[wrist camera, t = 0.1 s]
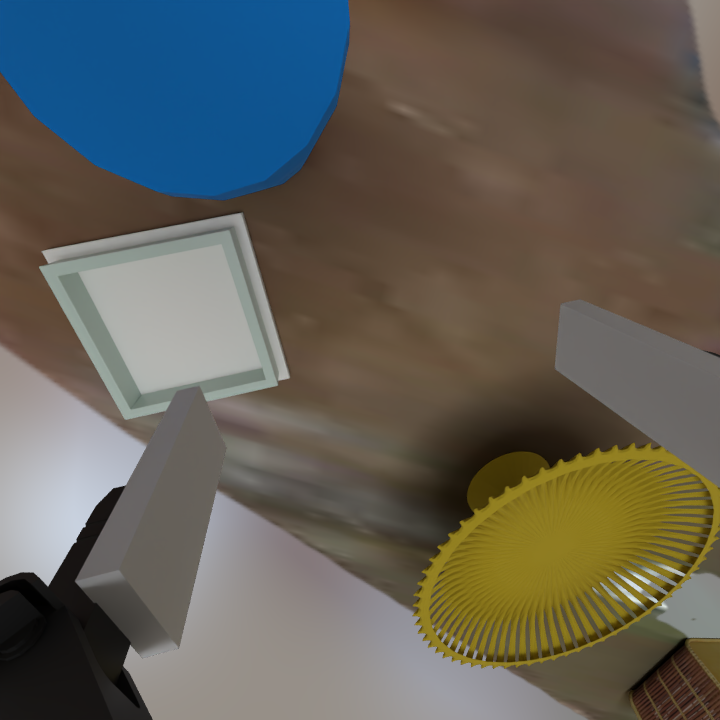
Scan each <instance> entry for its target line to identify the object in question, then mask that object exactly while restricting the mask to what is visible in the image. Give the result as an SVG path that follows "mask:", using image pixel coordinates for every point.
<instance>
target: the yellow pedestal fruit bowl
mask: <svg viewBox="0 0 720 720" xmlns="http://www.w3.org/2000/svg"><path fill="white" fill-rule="evenodd" d="M630 459H633V460H631V461H628V462H626V463H624V462H625V461H627V460H630ZM641 460H648V461H645V462H642V463H640V464H637V465H634V466H632V465H633V464H635V463H637V462H639V461H641ZM614 461H616V462H614ZM656 461H664V462H661V463H658V464H654V465H651V466H648V467H645V468H642V467H644V466H646V465H648V464H650V463H653V462H656ZM612 462H614V463H612ZM610 463H611V464H610ZM622 463H623V464H622ZM668 464H674V465H676V466H672V467H669V468H665V469H661V470H657V471H653V472H649V471H651V470H654V469H656V468H658V467H661V466H665V465H668ZM630 466H631V467H630ZM640 468H641V469H640ZM681 468H685V469H687V470H684V471H680V472H676V473H671V474H666V475H662V476H657V475H660V474H662V473H665V472H668V471H672V470H676V469H681ZM647 472H649V473H647ZM687 474H695V475H696V476H695V477H689V478H684V479H678V480H672V481H666V482H660V481H663V480H666V479H669V478H672V477H676V476H682V475H687ZM654 476H657V477H654ZM699 480H702V482H703V483H700V484H692V485H685V486H677V487H669V488H663V487H666V486H670V485H674V484H678V483H684V482H692V481H699ZM656 482H660V483H656ZM659 488H660V489H659ZM700 488H707V489H708V490H709V491H705V492H695V493H683V494H669V495H661V494H666V493H671V492H676V491H681V490H689V489H700ZM685 497H711V498H712V500H692V501H665V500H671V499H678V498H685ZM467 501H468V504H469V506H470V508H471V509H472V511H473V512H474V515H473V516H471V517H470V518H467V519H464V520H462V521H460V524H461V527H460V529H457V530H455V531H453V532H451V533H449V534H448V536H449V537H450V539H449V540H448V541H446V542H444V543H442V544H441V545H439V546H438V547H437V548H439V549H440V550H441V552H439V553H438V554H436V555H434V556H433V557H432V558H430V559H429V560H430V561H431V562H433V563H432V564H431V565H429V566H428V567H427V568H426V569H424V570H423V571H422V573H425V574H427V576H425V577H424V578H423V579H422V580H421V581H419V582H418V585H421V586H422V587H421V588H420V589H419V590H418V591H417V592H416V593H415V594H414V595H413V596H418V597H420V598H419V599H418V600H417V601H416V602H415V603H414V605H413V606H416V607H419V608H418V609H417V611H416V612H415V613H414V614H413V616H418V617H420V618H419V620H418V621H417V622H416V624H415V625H422V627H421V629H420V630H419V631H418V634H419V633H425V634H426V635H425V637H424V638H423V641H426V640H430V641H431V642H430V644H429V645H428V648H429V647H437V649H436V651H435V653H437V652H444V654H443V658H445V657H449V656H452V657H453V658H452V662H453V661H455V660H461V665H462V664H465V663H468V662H469V663H471V667H473V666H475V665H478V664H480V665H481V668H484V667H486V666H489V665H493V669H494V668H496V667H498V666H504V669H505V668H507V667H509V666H511V665H516V667H518V666H520V665H522V664H528V666H530V665H531V664H532V663H534V662H540V663H542V662H544V661H545V660H548V659H552V660H553V661H554V660H555V659H556V658H557V657H559V656H562V655H565V656H566V657H567V655H568V654H570V653H572V652H576V651H577V652H580V650H581V649H583V648H585V647H588V646H590V647H592V645H593V644H595V643H597V642H600V641H603V642H604V640H605V639H606V638H607V637H609V636H612V635H616V634H617V632H619V631H621V630H623V629H628V627H629V625H631V624H632V623H634V622H637V621H640V618H642V617H643V616H645V615H647V614H651V611H652V610H653V609H654V608H656V607H657V606H662V604H661V603H662V602H663V601H664V600H666V599H667V598H669V597H672V595H671V594H672V593H673V592H674V591H676V590H677V589H679V588H682V587H681V584H682V583H684V582H685V581H686V580H689V579H691V577H690V574H691V573H692V572H694V571H695V570H698V569H699V568H698V567H697V566H698V565H699V564H700V563H701V562H702V561H703V560H706V559H707V558H706V557H704V555H705V554H706V553H707V552H708V551H710V550H712V549H713V548H712V547H710V545H711V544H712V543H713V542H714V541H715V540H717V539H719V538H718V537H716V536H715V534H716V533H717V532H718V531H719V530H720V526H718V525H719V523H720V488H718V486H717V485H715V484H714V483H712V482H711V481H710V480H708V479H707V478H705V477H704V476H703V475H701V474H700V473H698V472H697V471H696V470H694V469H693V468H692V467H690V466H689V465H687V464H686V463H685V462H683V461H682V460H680V459H679V458H678V457H676V456H675V455H674V454H672V453H671V452H669V451H668V450H667V451H666V450H665V448H664V447H662V446H658V447H655V448H653V449H651V443H649V444H646V445H643V446H641V447H639V448H635V443H632V444H630V445H628V446H626V447H624V448H622V449H620V450H618V447H617V445H615V446H613V447H611V448H609V449H608V450H606V451H604V452H600V449H599V448H597V449H595V450H594V451H592V452H591V453H589V454H588V455H586V456H584V457H582V455H581V453H579V454H577V455H576V456H575V457H573V458H572V459H570V460H569V461H567V462H564V461H563V460H562V459H560V460H559V461H558V462H557V463H556V464H554V465H553V466H552V467H551V468H550V466H549V465H548V463H547V461H546V460H545V459H544V458H542V457H541V456H539V455H538V454H536V453H532V452H524V451H520V452H512V453H508V454H505V455H502V456H500V457H498V458H495V459H494V460H492V461H490V462H489V463H487V464H486V465H485V466H484V467H482V468H481V469H480V470H479V471H478V472H477V474H476V475H475V476H474V478H473V479H472V481H471V482H470V485H469V487H468V491H467ZM683 505H708V506H713V507H714V509H669V508H663V507H672V506H683ZM681 513H689V514H705V515H713V518H696V517H680V516H667V515H663V514H681ZM661 521H679V522H693V523H701V524H709V525H712V528H702V527H692V526H683V525H675V524H668V523H661ZM661 528H662V529H675V530H685V531H691V532H697V533H702V534H707V535H709V537H708V538H705V537H697V536H691V535H685V534H679V533H674V532H668V531H663V530H658V529H661ZM653 536H664V537H671V538H678V539H683V540H687V541H692V542H696V543H700V544H704V545H705V547H704V548H701V547H695V546H690V545H686V544H681V543H677V542H673V541H669V540H664V539H661V538H657V537H653ZM646 542H649V543H658V544H662V545H667V546H672V547H676V548H679V549H683V550H686V551H689V552H693V553H696V554H699V555H700V556H699V557H698V558H697V557H693V556H689V555H685V554H682V553H678V552H675V551H671V550H668V549H665V548H661V547H658V546H655V545H652V544H649V543H646ZM642 549H646V550H652V551H655V552H659V553H662V554H666V555H669V556H672V557H675V558H678V559H680V560H683V561H686V562H688V563H691V564H693V566H692V568H691V567H688V566H684V565H681V564H678V563H675V562H673V561H670V560H667V559H664V558H662V557H659V556H656V555H654V554H651V553H649V552H646V551H644V550H642ZM635 555H638V556H642V557H646V558H649V559H652V560H654V561H657V562H660V563H662V564H665V565H667V566H669V567H672V568H674V569H676V570H678V571H680V572H682V573H684V574H686V575H685V576H684V577H682V576H680V575H677V574H675V573H672V572H670V571H667V570H665V569H663V568H660V567H658V566H656V565H654V564H652V563H649V562H647V561H645V560H643V559H641V558H639V557H637V556H635ZM627 560H628V561H627ZM448 561H449V562H448ZM629 561H631V562H634V563H637V564H640V565H643V566H645V567H647V568H649V569H651V570H653V571H656V572H657V573H659V574H661V575H663V576H665V577H667V578H669V579H671V580H673V581H674V582H676V583H677V585H676V586H674V585H671V584H669V583H667V582H665V581H663V580H661V579H659V578H657V577H655V576H653V575H651V574H649V573H647V572H645V571H644V570H642V569H640V568H638V567H637V566H635V565H633V564H632V563H630V562H629ZM446 562H448V563H446ZM445 563H446V564H445ZM444 564H445V565H444ZM621 566H622V567H625V568H627V569H629V570H631V571H634V572H636V573H638V574H640V575H641V576H643V577H645V578H647V579H648V580H650V581H652V582H653V583H655V584H657V585H658V586H660V587H661V588H663V589H664V590H666V591H667V592H668V594H667V595H665V594H663V593H661V592H659V591H658V590H656V589H654V588H652V587H651V586H649V585H647V584H646V583H644V582H643V581H641V580H639V579H638V578H636V577H635V576H633V575H632V574H630V573H629V572H627V571H626V570H625V569H623V568H622V567H621ZM446 569H447V570H446ZM444 570H446V571H444ZM442 571H444V572H443V573H442V574H441V575H440V576H439V577H438V575H439V573H440V572H442ZM614 571H615V572H617V573H618V574H620V575H622V576H624V577H626V578H627V579H629V580H631V581H632V582H634V583H635V584H637V585H638V586H640V587H641V588H642V589H644V590H645V591H647V592H648V593H649V594H651V595H652V596H653V597H654V598H656V599H657V600H658V601H659V602H657V603H654V602H653V601H651V600H650V599H648V598H647V597H645V596H644V595H642V594H641V593H639V592H638V591H637V590H635V589H634V588H633V587H631V586H630V585H629V584H627V583H626V582H625V581H624V580H622V579H621V578H620V577H619V576H617V575H616V574H615V573H614ZM607 577H609V578H611V579H612V580H614V581H615V582H616V583H618V584H619V585H621V586H622V587H623V588H625V589H626V590H627V591H628V592H630V593H631V594H632V595H633V596H634V597H636V598H637V599H638V600H639V601H640V602H641V603H642V604H644V605H645V606H646V607H647V608H648V610H647V611H644V610H643V609H642V608H640V607H639V606H638V605H636V604H635V603H634V602H633V601H631V600H630V599H629V598H628V597H627V596H626V595H624V594H623V593H622V592H621V591H620V590H619V589H618V588H617V587H616V586H615V585H613V584H612V583H611V582H610V580H609V579H608V578H607ZM443 578H444V579H443ZM442 579H443V580H442ZM440 580H442V581H441V582H440V583H439V584H438V585H437V586H436V587H435V588H434V589H433V587H434V585H435V584H436V583H437V582H438V581H440ZM600 582H601V583H603V584H604V585H605V586H607V587H608V588H609V589H610V590H611V591H612V592H614V593H615V594H616V595H617V596H618V597H619V598H620V599H621V600H622V601H623V602H624V603H625V604H626V605H627V606H628V607H629V608H630V609H631V610H632V611H633V612H634V613H635V614H636V616H637V618H636V619H634V618H633V617H632V616H631V615H629V614H628V613H627V612H626V611H625V610H624V609H623V608H622V607H621V606H620V605H619V604H618V603H617V602H616V601H615V600H614V599H613V598H612V597H611V596H610V595H609V594H608V593H607V591H606V590H605V589H604V588H603V587H602V586H601V584H600ZM446 583H447V584H446ZM445 584H446V585H445ZM443 585H445V586H444V587H443V588H442V589H441V590H440V591H439V592H438V593H437V594H436V595H435V596H434V597H433V598H432V599H431V600H430V598H431V595H432V594H433V593H434V592H435V591H436V590H438V589H439V588H441V587H442V586H443ZM592 587H594V588H595V589H596V590H597V591H598V592H599V593H600V594H601V595H602V596H603V597H604V598H605V599H606V600H607V601H608V602H609V603H610V605H611V606H612V607H613V608H614V609H615V610H616V611H617V613H618V614H619V615H620V616H621V618H622V619H623V620H624V621H625V623H626V625H625V626H623V625H622V624H621V623H620V622H619V621H618V620H617V619H616V618H615V617H614V616H613V615H612V613H611V612H610V611H609V610H608V609H607V608H606V606H605V605H604V604H603V603H602V601H601V600H600V599H599V597H598V596H597V595H596V593H595V592H594V590H593V589H592ZM432 589H433V590H432ZM446 591H447V592H446ZM445 592H446V593H445ZM584 592H586V593H587V594H588V595H589V596H590V597H591V598H592V600H593V601H594V602H595V603H596V604H597V606H598V607H599V608H600V610H601V611H602V612H603V614H604V615H605V616H606V618H607V619H608V621H609V622H610V624H611V625H612V627H613V628H614V630H615V631H614V632H611V631H610V630H609V629H608V628H607V626H606V625H605V624H604V622H603V621H602V620H601V618H600V617H599V616H598V614H597V613H596V611H595V610H594V608H593V607H592V605H591V604H590V602H589V601H588V599H587V597H586V595H585V593H584ZM443 593H445V594H444V595H443V596H442V597H441V598H440V600H439V601H438V602H437V603H436V604H435V605H434V606H433V607H432V609H431V610H430V611H429V607H430V606H431V604H432V603H433V602H434V601H435V600H436V599H437V598H438V597H440V596H441V595H442V594H443ZM449 596H450V597H449ZM576 596H578V597H579V599H580V600H581V601H582V603H583V604H584V605H585V607H586V608H587V610H588V612H589V613H590V615H591V616H592V618H593V619H594V621H595V623H596V625H597V626H598V628H599V630H600V632H601V634H602V636H603V637H602V638H599V637H598V635H597V634H596V632H595V631H594V629H593V628H592V626H591V625H590V623H589V621H588V620H587V618H586V616H585V614H584V612H583V611H582V609H581V607H580V605H579V603H578V600H577V598H576ZM448 597H449V598H448ZM447 598H448V599H447ZM446 599H447V600H446ZM445 600H446V602H445V603H444V604H443V606H442V607H441V608H440V609H439V611H438V612H437V613H436V614H435V615H434V617H433V618H432V619H431V620H430V615H431V614H432V613H433V612H434V610H435V609H436V608H437V607H438V606H439V605H440V604H441V603H442V602H443V601H445ZM568 600H570V602H571V603H572V605H573V606H574V608H575V610H576V612H577V614H578V615H579V617H580V619H581V621H582V623H583V625H584V627H585V629H586V631H587V634H588V636H589V638H590V641H591V643H587V642H586V640H585V638H584V636H583V635H582V633H581V631H580V629H579V627H578V625H577V622H576V620H575V618H574V616H573V613H572V611H571V609H570V606H569V603H568ZM451 603H452V604H451ZM560 603H561V605H562V606H563V608H564V610H565V612H566V614H567V617H568V619H569V621H570V624H571V626H572V629H573V631H574V634H575V637H576V640H577V643H578V646H579V648H575V647H574V645H573V642H572V640H571V638H570V635H569V633H568V630H567V627H566V625H565V622H564V619H563V616H562V612H561V609H560ZM450 604H451V605H450ZM449 605H450V607H449V608H448V609H447V611H446V612H445V614H444V615H443V616H442V618H441V619H440V620H439V622H438V623H437V625H436V626H435V627H434V628H432V625H433V623H434V622H435V621H436V619H437V618H438V617H439V615H440V614H441V613H442V612H443V611H444V610H445V609H446V608H447V607H448V606H449ZM456 606H457V607H456ZM455 607H456V609H455V610H454V612H453V614H452V615H451V617H450V618H449V620H448V621H447V623H446V624H445V626H444V627H443V629H442V630H441V632H440V633H439V635H438V636H437V635H436V632H437V630H438V629H439V627H440V626H441V624H442V623H443V621H444V620H445V618H446V617H447V616H448V615H449V614H450V613H451V612H452V611H453V609H454V608H455ZM552 607H553V609H554V611H555V613H556V616H557V619H558V622H559V625H560V628H561V631H562V635H563V638H564V642H565V646H566V651H567V652H563V651H562V648H561V645H560V642H559V639H558V635H557V632H556V628H555V624H554V620H553V616H552ZM543 609H544V610H545V613H546V616H547V620H548V624H549V628H550V632H551V637H552V642H553V648H554V656H551V655H550V651H549V647H548V643H547V638H546V632H545V627H544V615H543ZM461 610H462V611H461ZM460 611H461V613H460ZM535 612H536V614H537V618H538V624H539V630H540V637H541V646H542V658H540V659H539V657H538V651H537V644H536V635H535ZM459 613H460V615H459V617H458V618H457V620H456V622H455V624H454V625H453V627H452V629H451V630H450V632H449V634H448V635H447V637H446V639H445V640H444V642H443V643H442V642H441V639H442V638H443V636H444V634H445V632H446V631H447V629H448V627H449V626H450V624H451V622H452V621H453V620H454V619H455V618H456V616H457V615H458V614H459ZM467 613H468V614H467ZM466 614H467V616H466V618H465V620H464V622H463V624H462V626H461V628H460V630H459V632H458V634H457V636H456V638H455V639H454V641H453V643H452V645H451V647H450V648H448V647H447V645H448V643H449V641H450V639H451V637H452V635H453V633H454V632H455V630H456V628H457V626H458V625H459V624H460V622H461V621H462V619H463V618H464V617H465V615H466ZM527 614H528V619H529V630H530V660H529V661H527V659H526V644H525V626H526V620H527ZM473 616H474V617H473ZM519 616H520V651H519V662H515V638H516V628H517V623H518V620H519ZM472 617H473V619H472ZM480 617H481V618H480ZM471 619H472V622H471V624H470V626H469V629H468V631H467V633H466V636H465V638H464V640H463V642H462V644H461V647H460V649H459V651H458V653H456V652H455V649H456V647H457V645H458V642H459V640H460V638H461V636H462V634H463V631H464V629H465V628H466V626H467V625H468V623H469V622H470V620H471ZM479 619H480V621H479V624H478V627H477V630H476V632H475V635H474V638H473V640H472V643H471V646H470V648H469V650H468V653H467V655H466V657H465V656H463V653H464V650H465V648H466V645H467V642H468V640H469V637H470V635H471V632H472V631H473V629H474V627H475V625H476V624H477V622H478V620H479ZM487 619H488V620H487ZM494 620H495V624H494V629H493V634H492V638H491V642H490V646H489V650H488V654H487V657H486V661H482V658H483V653H484V649H485V645H486V641H487V637H488V634H489V632H490V629H491V627H492V624H493V622H494ZM502 620H503V627H502V633H501V640H500V645H499V651H498V656H497V660H496V662H493V656H494V650H495V644H496V639H497V634H498V631H499V628H500V625H501V623H502ZM510 620H511V634H510V645H509V653H508V660H507V662H504V649H505V640H506V633H507V629H508V625H509V623H510ZM486 621H487V624H486V628H485V631H484V635H483V638H482V641H481V644H480V647H479V651H478V653H477V656H476V659H472V658H473V654H474V651H475V647H476V644H477V641H478V638H479V635H480V632H481V630H482V628H483V626H484V624H485V622H486Z"/></svg>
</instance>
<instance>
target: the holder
mask: <svg viewBox="0 0 720 720" xmlns="http://www.w3.org/2000/svg"><path fill="white" fill-rule="evenodd" d="M42 253H43V255H44V256H45V258H46V260H47V262H48V264H46V265H43V266H40V267H39V268H40V270H41V272H42V273H43V275H44V277H45V279H46V280H47V282H48V284H49V286H50V287H51V289H52V291H53V293H54V295H55V296H56V298H57V300H58V302H59V303H60V305H61V307H62V309H63V311H64V312H65V314H66V316H67V318H68V319H69V321H70V323H71V325H72V326H73V328H74V330H75V332H76V334H77V335H78V337H79V339H80V341H81V342H82V344H83V346H84V348H85V350H86V351H87V353H88V355H89V357H90V358H91V360H92V362H93V364H94V366H95V367H96V369H97V371H98V373H99V374H100V376H101V378H102V380H103V381H104V383H105V385H106V387H107V389H108V390H109V392H110V394H111V396H112V397H113V399H114V401H115V403H116V405H117V406H118V408H119V410H120V412H121V413H122V415H123V417H124V419H125V420H127V419H131V418H136V417H140V416H145V415H149V414H153V413H158V412H162V411H166V410H167V408H168V406H169V404H170V402H171V401H172V399H173V397H174V395H175V393H176V391H178V390H182V389H187V388H191V387H196V386H200V388H201V390H202V392H203V395H204V397H205V399H206V402H207V401H211V400H216V399H220V398H225V397H229V396H234V395H238V394H242V393H247V392H251V391H256V390H260V389H265V388H269V387H274V386H278V381H279V380H284V379H288V378H290V372H289V369H288V365H287V362H286V358H285V355H284V351H283V348H282V344H281V341H280V338H279V334H278V331H277V327H276V324H275V320H274V317H273V313H272V310H271V307H270V303H269V300H268V296H267V293H266V289H265V286H264V282H263V279H262V276H261V272H260V269H259V265H258V262H257V258H256V255H255V251H254V248H253V245H252V241H251V238H250V234H249V231H248V227H247V224H246V220H245V217H244V214H243V212H241V213H236V214H231V215H226V216H220V217H215V218H210V219H204V220H199V221H194V222H189V223H183V224H178V225H173V226H168V227H162V228H157V229H152V230H147V231H141V232H136V233H131V234H126V235H120V236H115V237H110V238H105V239H99V240H94V241H89V242H84V243H78V244H73V245H68V246H63V247H57V248H52V249H48V250H44V251H42Z"/></svg>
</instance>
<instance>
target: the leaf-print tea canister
mask: <svg viewBox="0 0 720 720" xmlns="http://www.w3.org/2000/svg"><path fill="white" fill-rule="evenodd" d="M349 31H350V18H349V6H348V0H0V72H1V73H2V75H3V76H4V77H5V79H6V80H7V81H8V83H9V84H10V85H11V87H12V88H13V89H14V91H15V92H16V93H17V94H18V96H19V97H20V98H21V100H22V101H23V102H24V104H25V105H26V106H27V108H28V109H29V110H30V112H31V113H32V114H33V115H34V117H36V118H37V119H38V120H39V121H41V122H42V123H43V124H44V125H46V126H47V127H48V128H49V129H51V130H52V131H53V132H54V133H56V134H57V135H58V136H59V137H60V138H62V139H63V140H64V141H65V142H67V143H68V144H69V145H70V146H72V147H73V148H74V149H75V150H77V151H78V152H79V153H80V154H82V155H83V156H84V157H85V158H87V159H88V160H89V161H90V162H92V163H93V164H94V165H96V166H98V167H100V168H103V169H105V170H107V171H110V172H112V173H114V174H117V175H119V176H121V177H124V178H126V179H128V180H131V181H133V182H136V183H138V184H140V185H143V186H145V187H147V188H150V189H152V190H154V191H157V192H160V193H163V194H166V195H169V196H173V197H186V198H199V199H212V200H228V199H232V198H235V197H239V196H243V195H246V194H250V193H254V192H257V191H261V190H264V189H268V188H271V187H274V186H277V185H281V184H284V183H285V182H286V181H287V180H289V179H290V178H291V177H292V176H293V175H295V174H296V173H297V172H298V171H299V170H301V168H302V166H303V165H304V163H305V161H306V160H307V158H308V156H309V155H310V153H311V151H312V149H313V147H314V146H315V144H316V142H317V140H318V138H319V137H320V135H321V133H322V131H323V130H324V128H325V126H326V124H327V122H328V121H329V119H330V117H331V115H332V114H333V112H334V110H335V108H336V106H337V102H338V97H339V92H340V87H341V82H342V77H343V71H344V66H345V61H346V56H347V51H348V46H349Z"/></svg>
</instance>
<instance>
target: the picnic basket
mask: <svg viewBox="0 0 720 720" xmlns="http://www.w3.org/2000/svg"><path fill="white" fill-rule="evenodd" d="M629 701H630V703H631V706H632V708H633V710H634V712H635V714H636V716H637V718H638V720H720V638H719V639H718V638H689V639H686V641H685V644H684V645H683V646H682V647H681V648H680V649H679V650H678V651H677V652H676V653H675V654H673V655H672V656H671V657H670V658H669V659H668V660H667V661H666V662H665V663H664V664H663V665H662V666H661V667H659V668H658V669H657V670H656V671H655V672H654V673H653V674H652V675H651V676H650V677H649V678H648V679H646V680H645V681H644V682H643V683H642V684H641V685H640V686H639V687H638V688H637V689H634V690H632V691H631V692H630V694H629Z"/></svg>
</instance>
